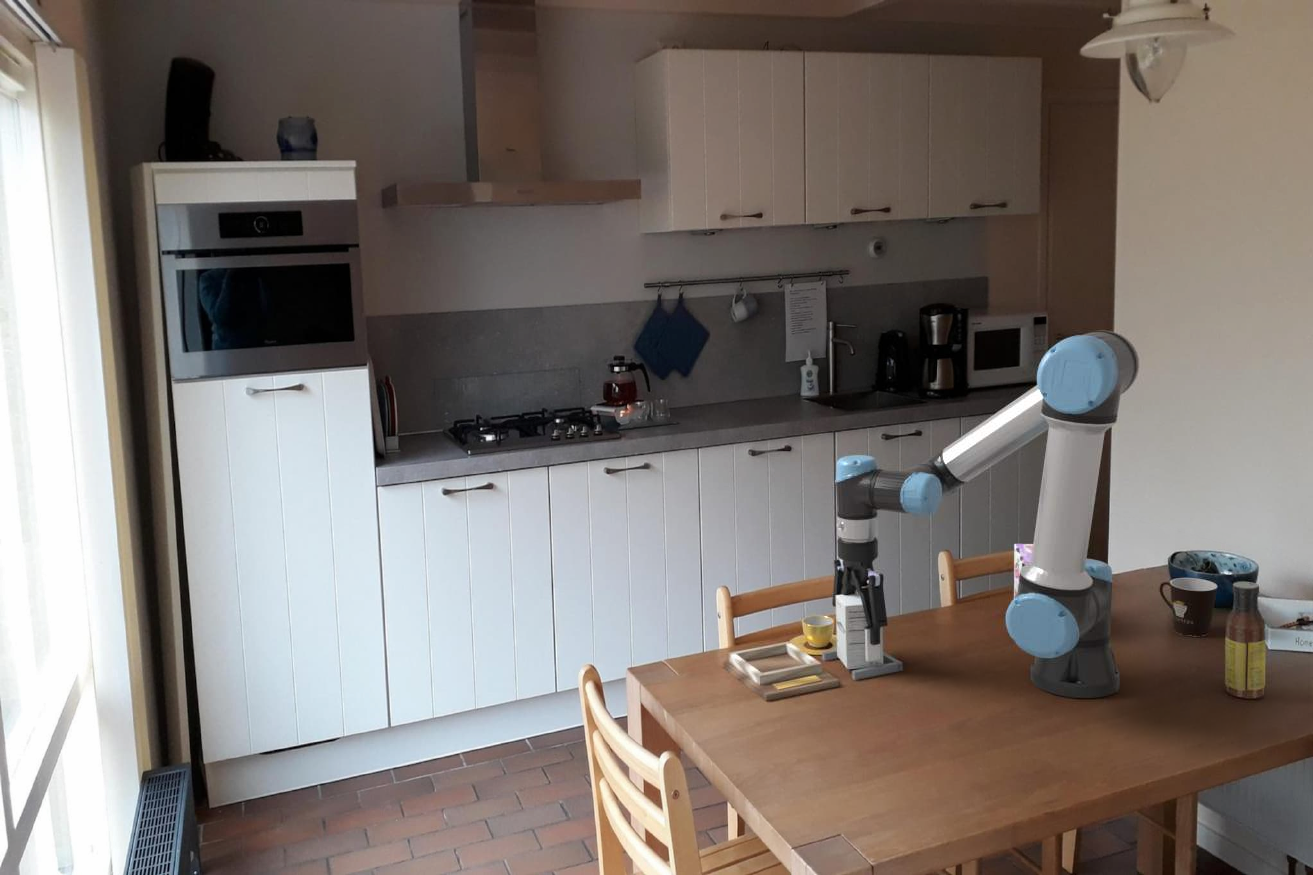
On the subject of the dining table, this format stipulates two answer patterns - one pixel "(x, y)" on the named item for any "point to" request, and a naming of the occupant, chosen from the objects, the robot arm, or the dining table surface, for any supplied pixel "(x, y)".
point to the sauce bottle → (1245, 644)
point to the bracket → (888, 667)
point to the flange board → (779, 671)
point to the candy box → (1020, 561)
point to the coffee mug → (1191, 604)
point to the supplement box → (853, 632)
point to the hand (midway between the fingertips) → (859, 652)
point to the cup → (816, 634)
